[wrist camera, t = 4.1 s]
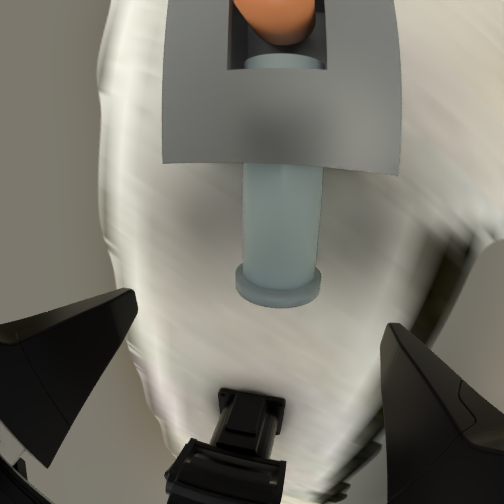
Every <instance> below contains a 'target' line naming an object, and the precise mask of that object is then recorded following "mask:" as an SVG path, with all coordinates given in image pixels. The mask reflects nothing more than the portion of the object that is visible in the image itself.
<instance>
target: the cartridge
mask: <svg viewBox="0 0 504 504" xmlns="http://www.w3.org/2000/svg"><path fill="white" fill-rule="evenodd" d="M256 68H302V69H322V70H325V64H324V63H323V62H321V61H320V60H317V59H315V58H312V57H308V56H303V55H297V54H284V53H277V54H264V55H258V56H254V57H251V58H249V59H247V60H246V61H245V62H244V69H256ZM322 183H323V167H315V166H301V165H285V164H263V163H243V263H242V264H240V265H239V266H238V268H237V269H236V289H237V292H238V293H239V294H240V295H241V296H242V297H243V298H244V299H246V300H247V301H249V302H251V303H254V304H257V305H260V306H264V307H270V308H292V307H298V306H301V305H304V304H307V303H309V302H311V301H312V300H314V299H315V298H316V297H317V295H318V293H319V290H320V282H321V273H320V271H319V270H318V269H317V268H316V267H315V264H316V255H317V245H318V234H319V223H320V211H321V198H322Z"/></svg>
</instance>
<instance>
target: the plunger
mask: <svg viewBox="0 0 504 504" xmlns="http://www.w3.org/2000/svg"><path fill="white" fill-rule="evenodd" d="M233 1H234V3H235V5H236V6H237V8H238V9H239V11H240V12H241V14H242V15H243V16H244V18H245V19H246V21H247V22H248V24H249V25H250V27H251V28H252V30H253V31H254V33H255V34H256V35H257V36H258V37H259V38H260V39H262V40H264V41H265V42H268V43H270V44H274V45H292V44H296V43H298V42H301V41H303V40H304V39H306V38H307V37H308V36H309V35H310V34H311V33H312V31H313V30H314V27H315V24H316V14H315V0H233Z"/></svg>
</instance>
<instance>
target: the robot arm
mask: <svg viewBox="0 0 504 504" xmlns="http://www.w3.org/2000/svg"><path fill="white" fill-rule="evenodd" d="M137 313H138V305H137V301H136V296H135V292H134V290H132V289H129V288H121V289H118V290H115V291H111V292H108V293H105V294H102V295H98V296H96V297H92V298H89V299H86V300H83V301H79V302H76V303H73V304H70V305H67V306H64V307H60V308H57V309H54V310H51V311H48V312H44V313H41V314H38V315H34V316H31V317H27V318H24V319H20V320H16V321H12V322H8V323H4V324H0V504H55V503H53V502H52V501H51V500H50V499H48V498H47V497H46V496H44V495H43V494H42V493H41V492H40V491H39V490H37V489H36V488H35V487H34V486H33V485H32V484H30V483H29V482H28V480H27V473H26V465H25V461H24V460H23V459H22V458H21V455H22V454H23V453H24V452H25V451H27V452H28V453H29V454H30V455H31V456H32V457H34V458H35V459H36V460H37V461H38V462H39V463H41V464H42V465H43V466H44V467H46V468H47V469H48V467H49V466H50V464H51V463H52V461H53V459H54V457H55V455H56V453H57V451H58V449H59V448H60V446H61V444H62V442H63V440H64V438H65V437H66V435H67V433H68V431H69V429H70V428H71V427H70V426H72V424H73V422H74V420H75V419H76V417H77V415H78V413H79V412H80V410H81V408H82V407H83V405H84V403H85V402H86V400H87V398H88V396H89V395H90V393H91V391H92V390H93V388H94V386H95V385H96V383H97V382H98V380H99V379H100V377H101V375H102V374H103V372H104V371H105V369H106V367H107V366H108V364H109V363H110V361H111V359H112V358H113V356H114V355H115V353H116V351H117V350H118V349H119V347H120V345H121V344H122V342H123V340H124V338H125V336H126V334H127V332H128V330H129V329H130V327H131V325H132V323H133V321H134V319H135V317H136V315H137ZM380 361H381V393H382V402H383V412H384V422H385V435H386V452H387V484H388V485H387V501H388V502H387V504H504V414H503V413H502V412H500V411H499V410H498V409H497V408H495V407H494V406H493V405H492V404H490V403H489V402H488V401H487V400H485V399H484V398H483V397H481V395H479V394H478V393H477V392H476V391H475V390H474V389H473V388H472V387H470V386H469V385H468V384H467V383H466V382H465V381H464V380H462V378H461V377H460V376H459V375H458V374H456V373H455V372H454V371H453V370H452V369H451V368H450V367H449V366H448V365H447V364H445V363H444V362H443V361H442V360H441V359H440V358H439V357H437V355H435V354H434V353H433V352H432V351H431V350H430V349H429V348H428V347H426V346H425V345H424V344H423V343H422V342H421V341H420V340H418V339H417V338H416V337H415V336H414V335H413V334H412V333H410V332H409V331H408V330H407V329H406V328H405V327H403V326H402V325H401V324H400V323H388V324H387V326H386V329H385V332H384V335H383V338H382V341H381V345H380ZM218 398H219V406H220V414H221V416H220V418H219V421H218V423H217V426H216V428H215V431H214V433H213V436H212V438H211V441H210V443H209V444H207V443H203V442H200V441H197V439H194V438H191V439H190V441H189V442H188V444H187V443H186V444H185V446H184V448H183V450H182V451H181V453H180V454H179V456H178V457H177V459H176V461H175V462H174V463H173V464H172V466H171V467H170V468H169V469H168V470H167V471H166V472H165V475H164V477H165V479H166V480H167V483H166V494H168V495H169V498H168V502H167V504H280V502H281V498H282V492H283V485H284V478H285V470H286V462H287V461H282V460H280V461H277V460H271V459H270V455H271V451H272V447H273V442H274V438H275V435H279V434H280V432H281V426H282V421H283V415H284V409H285V403H286V402H285V400H283V399H280V398H273V397H266V396H260V395H254V394H248V393H242V392H237V391H232V390H227V389H220V390H219V392H218Z"/></svg>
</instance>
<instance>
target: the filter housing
mask: <svg viewBox="0 0 504 504" xmlns="http://www.w3.org/2000/svg"><path fill="white" fill-rule="evenodd" d="M315 14H316V24H315V27H314V30H313V31H312V33H311V34H310V35H309V36H308V37H307V38H306V39H304V40H303V41H301V42H298V43H296V44H292V45H274V44H270V43H268V42H265V41H264V40H262V39H260V38H259V37H258V36H257V35H256V34H255V33H254V31H253V30H252V28H251V27H250V25H249V24H248V22H247V21H246V19H245V18H244V16H243V15H242V14H241V12H240V11H239V9H238V8H237V6H236V5H235V3H234V1H233V0H169V1H168V9H167V19H166V30H165V43H164V58H163V81H162V157H163V164H169V163H263V164H285V165H301V166H315V167H327V168H337V169H347V170H356V171H365V172H373V173H380V174H387V175H394V176H398V173H399V161H400V145H401V120H402V88H401V64H400V49H399V38H398V29H397V21H396V14H395V7H394V1H393V0H315ZM277 53H284V54H297V55H303V56H308V57H312V58H315V59H317V60H320V61H321V62H323V63H324V64H325V70H322V69H302V68H256V69H244V62H245V61H246V60H247V59H249V58H251V57H254V56H258V55H264V54H277Z"/></svg>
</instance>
